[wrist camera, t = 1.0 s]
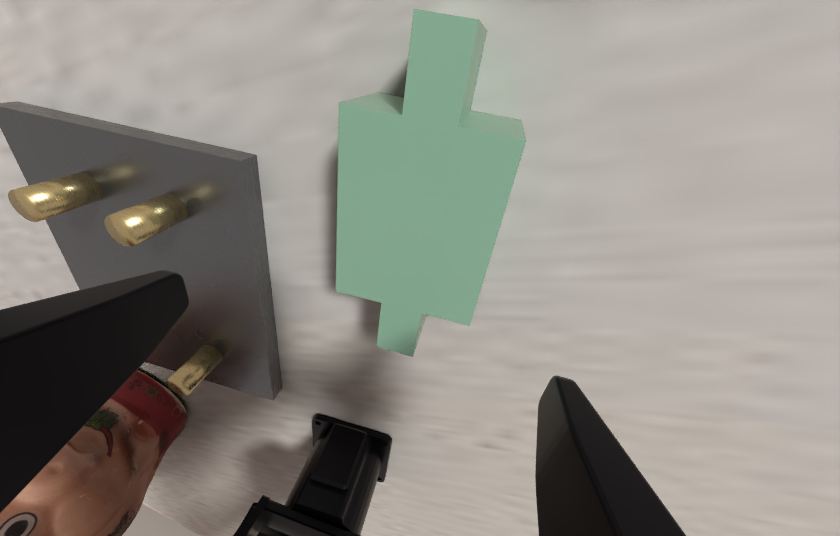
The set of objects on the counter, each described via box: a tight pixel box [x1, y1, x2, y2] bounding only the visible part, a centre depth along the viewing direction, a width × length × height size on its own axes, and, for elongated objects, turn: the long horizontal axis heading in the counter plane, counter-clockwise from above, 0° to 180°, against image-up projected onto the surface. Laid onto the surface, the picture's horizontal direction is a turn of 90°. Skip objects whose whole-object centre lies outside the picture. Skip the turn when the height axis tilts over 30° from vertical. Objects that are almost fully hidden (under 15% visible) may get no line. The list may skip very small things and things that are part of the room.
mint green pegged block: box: [336, 9, 526, 357], centre depth 14 cm, size 6×13×4 cm, turn 171°
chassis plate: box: [0, 102, 282, 400], centre depth 21 cm, size 14×18×4 cm
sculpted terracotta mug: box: [0, 370, 187, 536], centre depth 27 cm, size 20×12×14 cm, turn 149°
